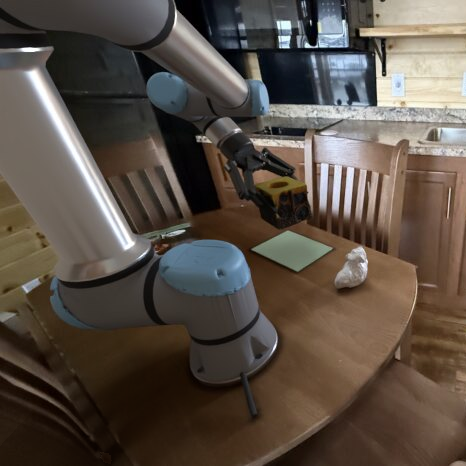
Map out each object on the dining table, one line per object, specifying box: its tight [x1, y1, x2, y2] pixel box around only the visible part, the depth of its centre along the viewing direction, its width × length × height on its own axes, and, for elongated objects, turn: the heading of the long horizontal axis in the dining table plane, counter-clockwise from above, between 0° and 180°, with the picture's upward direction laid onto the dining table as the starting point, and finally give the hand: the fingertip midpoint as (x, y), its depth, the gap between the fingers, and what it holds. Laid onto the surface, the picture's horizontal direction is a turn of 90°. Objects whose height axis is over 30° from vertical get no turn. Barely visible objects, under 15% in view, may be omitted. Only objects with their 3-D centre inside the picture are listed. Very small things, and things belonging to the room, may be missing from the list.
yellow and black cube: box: [254, 176, 313, 230], centre depth 83 cm, size 10×10×10 cm
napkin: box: [250, 230, 334, 273], centre depth 94 cm, size 20×14×1 cm
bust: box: [334, 245, 369, 290], centre depth 79 cm, size 12×8×11 cm
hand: (291, 204), depth 83 cm, fingers closed on yellow and black cube, 12 cm apart
